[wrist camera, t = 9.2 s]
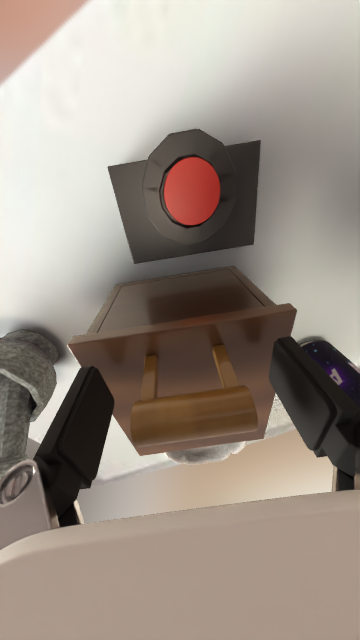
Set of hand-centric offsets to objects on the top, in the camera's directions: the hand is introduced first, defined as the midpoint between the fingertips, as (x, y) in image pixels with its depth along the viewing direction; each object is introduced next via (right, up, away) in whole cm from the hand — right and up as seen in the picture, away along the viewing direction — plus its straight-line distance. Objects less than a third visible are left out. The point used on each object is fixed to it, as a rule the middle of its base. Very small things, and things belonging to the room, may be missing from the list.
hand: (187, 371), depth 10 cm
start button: (0, +12, +3) cm, 12 cm away
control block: (0, +12, +6) cm, 14 cm away
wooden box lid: (+1, -3, +5) cm, 6 cm away
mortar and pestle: (-19, -1, +14) cm, 23 cm away
